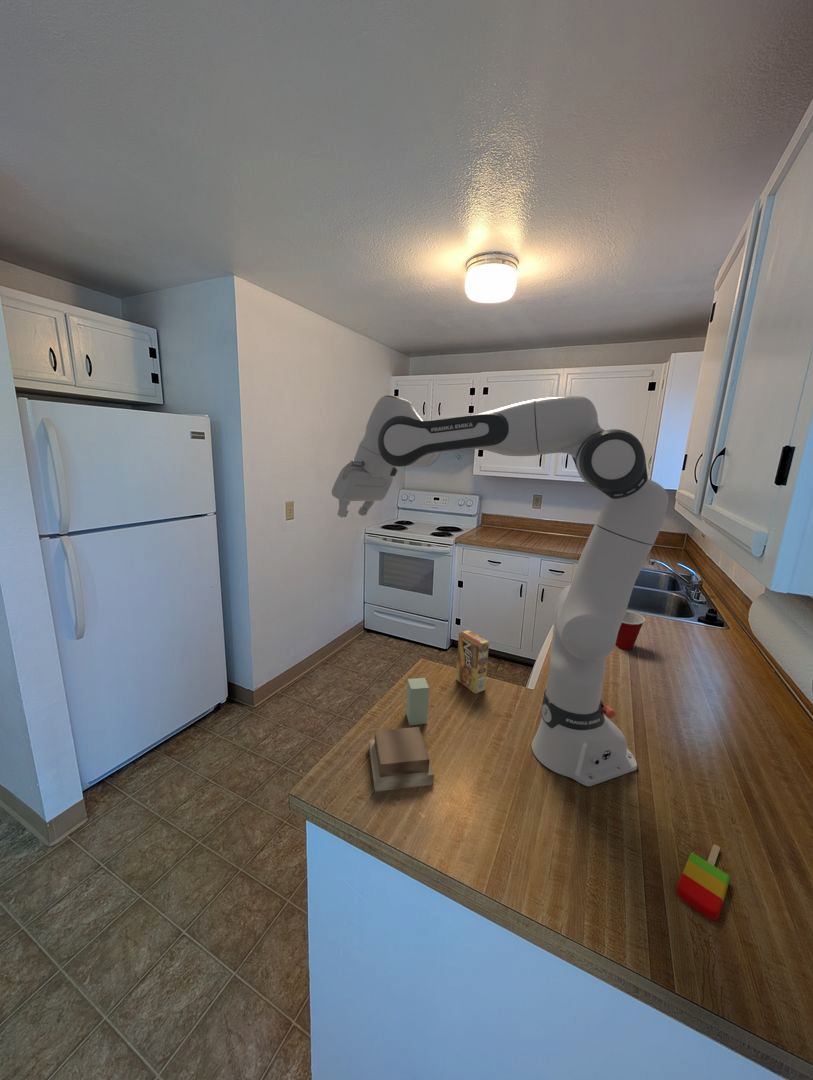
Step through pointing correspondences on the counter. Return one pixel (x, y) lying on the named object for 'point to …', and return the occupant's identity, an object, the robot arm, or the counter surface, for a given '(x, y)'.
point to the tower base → (397, 780)
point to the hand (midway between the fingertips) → (352, 515)
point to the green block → (417, 701)
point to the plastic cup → (629, 630)
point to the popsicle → (703, 884)
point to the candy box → (472, 661)
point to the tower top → (401, 752)
